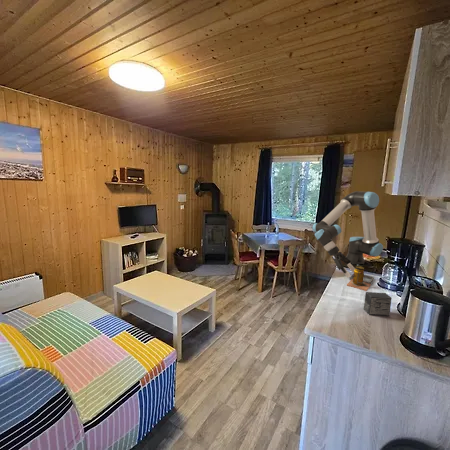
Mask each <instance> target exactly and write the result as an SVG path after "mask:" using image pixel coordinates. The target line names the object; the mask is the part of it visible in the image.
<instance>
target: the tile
mask: <svg viewBox="0 0 450 450" xmlns="http://www.w3.org/2000/svg"><path fill="white" fill-rule="evenodd" d="M350 281H351V282H353V279H352V280H350ZM350 281H348V283H346V286H347V287H350V288H353V289H356V290H361V291H365V292H368V290H369V289H370V288H371V286H372V283H371V284H368V283H365V284H366V285H367V286H355V285H354V284H353V283H351V282H350ZM363 283H364V282H363Z"/></svg>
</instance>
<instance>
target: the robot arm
mask: <svg viewBox="0 0 450 450" xmlns="http://www.w3.org/2000/svg"><path fill="white" fill-rule="evenodd" d="M379 203H380V197H379V195H378V194H377V193H376V192H374V191H362V190H361V191H358V190H357V191H353V192H350V193H348V194H347V195H346V196H344V197H343V198H342V199H341V200H340V203H338V204H337V205H336V206H335V207H334V208H333V209H332V210H331V211H330V212H329V213H328V214H327V215H326V216H325V217H324V218H323V219H322V220H321V221H320V222H315V223H314V224H313V225H312V227H311V228H312V231H313V232H314V236H315V238H316V240H317V242H319V244H320V245H321V246H322V247H323V249H324V250H326V252H327V253H328V255H329V256H331V259H332V260H333V262H334V264H335V265H336V267H337V270H339V271H341V272H342V273H343V275H345V277H346V278H350V277H351V276H352V275H351V273H350V272H349V271H351V272H352V273H354V270H355V267H354V266H353V265H355V264H363V265H365V259H364V255H368V256H369V257H379V256H380V255H381V253H383V250H384V245H383V244H382V243H381V242H380V239H379V238H378V237H377V230H376V228H377V227H376V218H375V210H376V209H377V207H378V206H379ZM354 206H355V207H358V210H359V211H360V213H361V219H362V220H361V221H362V229H363V236H350V237H349V241H348V249H347V253H346V255H345V254H343V253H342V252H341V251H340V248H339V247H338V246H337V244H335V242H334V240H332V239H333V238H335V237H336V236H338V235H340V234H341V233H342V228H341V226H340V225H338V224H334V222H336V221H337V220H339V218H340V217H341V216H342V215H343V214H344V213H345V212H346V211H347V210H349V209H351V208H352V207H354ZM333 224H334V225H333ZM343 263H344V264H346V266H347V267H348V268H349V269H350V270H349V271H348V270H347V268H346V267H344V265H343ZM351 263H352V264H351Z"/></svg>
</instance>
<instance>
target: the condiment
mask: <svg viewBox="0 0 450 450" xmlns="http://www.w3.org/2000/svg"><path fill="white" fill-rule="evenodd" d="M354 268H355V270H354V272H353V274H354V276H353V282H351V280H349V282H351V283H353V284H354V285H355V286H367V285H366V284H365V283H363V280H364V279H365V278H364V275H365V267H363V266H361V265H356V266H355V267H354Z"/></svg>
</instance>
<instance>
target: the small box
mask: <svg viewBox="0 0 450 450" xmlns="http://www.w3.org/2000/svg"><path fill="white" fill-rule="evenodd" d="M392 300H393V299H392V297H391V295H389V294H388V293H386V292H376V291H375V292H373V291H372V292H371V291H365V296H364V303H363V305H364V306H363V310H364V311H365V313H367V315H368V314H369V316H380V317H390V314H391V306H392Z"/></svg>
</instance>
